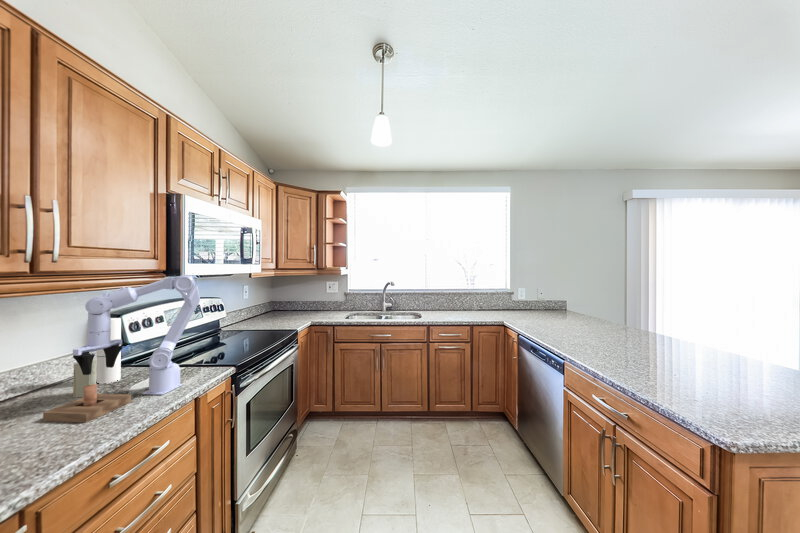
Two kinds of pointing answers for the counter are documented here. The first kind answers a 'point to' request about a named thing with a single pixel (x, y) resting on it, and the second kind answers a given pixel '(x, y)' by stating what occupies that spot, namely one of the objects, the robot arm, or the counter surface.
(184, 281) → the robot arm
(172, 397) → the counter surface
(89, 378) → the skincare box
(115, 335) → the cylindrical container
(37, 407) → the counter surface
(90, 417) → the walnut socket plate
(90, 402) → the terracotta peg
